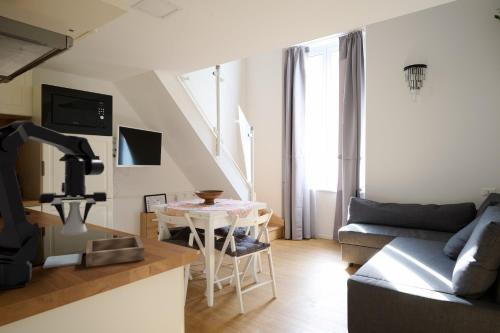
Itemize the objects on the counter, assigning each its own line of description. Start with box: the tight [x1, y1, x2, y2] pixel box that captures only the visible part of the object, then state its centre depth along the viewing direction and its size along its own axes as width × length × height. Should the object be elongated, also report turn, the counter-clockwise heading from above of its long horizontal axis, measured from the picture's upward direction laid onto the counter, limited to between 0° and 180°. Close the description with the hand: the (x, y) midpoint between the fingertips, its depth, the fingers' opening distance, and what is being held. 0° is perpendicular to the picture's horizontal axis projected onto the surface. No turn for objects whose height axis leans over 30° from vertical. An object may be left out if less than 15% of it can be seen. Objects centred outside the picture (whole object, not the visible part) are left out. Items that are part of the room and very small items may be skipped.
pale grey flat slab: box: [42, 252, 83, 269], centre depth 100 cm, size 10×10×1 cm
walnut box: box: [85, 235, 145, 268], centre depth 107 cm, size 17×17×4 cm
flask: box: [60, 201, 88, 236], centre depth 101 cm, size 7×7×10 cm
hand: (74, 224), depth 101 cm, fingers closed on flask, 5 cm apart
